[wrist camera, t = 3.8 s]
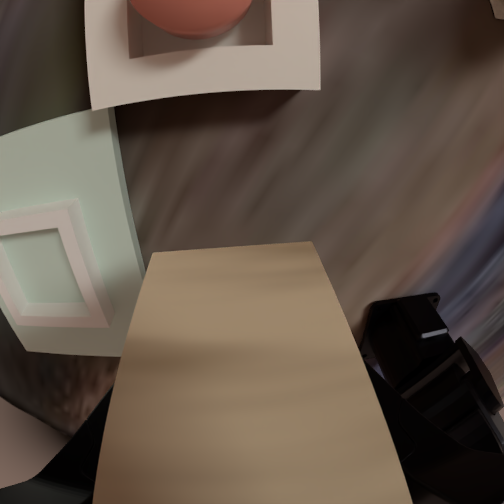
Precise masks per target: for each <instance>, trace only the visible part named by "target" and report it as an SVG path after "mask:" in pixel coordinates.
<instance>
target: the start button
mask: <svg viewBox="0 0 504 504" xmlns="http://www.w3.org/2000/svg"><path fill="white" fill-rule="evenodd" d="M130 1H131V3H132V5H133V6H134V8H135V9H136V10H137V12H138V13H139V14H140V15H142V16H143V17H144V18H145V19H147V20H148V21H150V22H152V23H153V24H155V25H156V26H158V27H159V28H161V29H162V30H164V31H165V32H167V33H169V34H171V35H173V36H176V37H179V38H183V39H191V40H199V39H207V38H212V37H215V36H218V35H221V34H223V33H225V32H227V31H229V30H230V29H232V28H233V27H235V26H236V25H237V24H238V23H239V22H240V21H241V20H242V19H243V18H244V16H245V15H246V14H247V12H248V10H249V8H250V6H251V3H252V0H130Z"/></svg>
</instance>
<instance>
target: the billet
mask: <svg viewBox="0 0 504 504" xmlns="http://www.w3.org/2000/svg"><path fill="white" fill-rule="evenodd" d="M92 504H413V503H412V499H411V496H410V493H409V490H408V486H407V483H406V480H405V477H404V474H403V471H402V467H401V464H400V461H399V458H398V455H397V452H396V449H395V446H394V443H393V441H392V438H391V435H390V432H389V429H388V426H387V423H386V421H385V418H384V415H383V412H382V410H381V407H380V404H379V401H378V399H377V396H376V393H375V391H374V388H373V385H372V383H371V380H370V378H369V375H368V372H367V370H366V367H365V365H364V362H363V360H362V357H361V355H360V352H359V350H358V347H357V345H356V342H355V340H354V337H353V335H352V332H351V330H350V328H349V325H348V323H347V320H346V318H345V316H344V313H343V311H342V308H341V306H340V304H339V301H338V299H337V297H336V295H335V292H334V290H333V288H332V285H331V283H330V281H329V279H328V276H327V274H326V272H325V270H324V267H323V265H322V263H321V261H320V258H319V256H318V254H317V252H316V250H315V248H314V245H313V243H312V241H310V242H295V243H281V244H266V245H252V246H238V247H224V248H210V249H196V250H183V251H169V252H156V253H153V254H152V256H151V259H150V262H149V265H148V268H147V271H146V274H145V277H144V280H143V284H142V287H141V290H140V293H139V296H138V300H137V303H136V306H135V309H134V313H133V316H132V320H131V323H130V326H129V330H128V333H127V337H126V341H125V344H124V348H123V352H122V356H121V359H120V363H119V367H118V371H117V375H116V379H115V383H114V388H113V392H112V396H111V401H110V405H109V410H108V414H107V419H106V424H105V429H104V434H103V439H102V445H101V450H100V456H99V462H98V468H97V474H96V481H95V488H94V495H93V503H92Z"/></svg>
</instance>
